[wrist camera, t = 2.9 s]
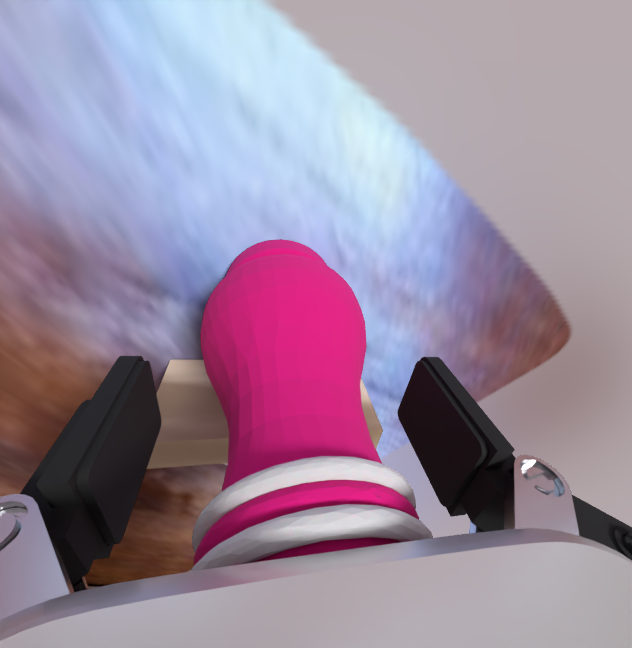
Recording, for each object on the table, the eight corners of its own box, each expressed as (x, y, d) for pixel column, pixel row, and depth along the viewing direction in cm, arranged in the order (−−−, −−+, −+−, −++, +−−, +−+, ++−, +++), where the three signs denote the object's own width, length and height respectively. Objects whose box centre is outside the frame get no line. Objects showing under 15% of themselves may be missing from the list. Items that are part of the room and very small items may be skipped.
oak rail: (348, 380, 22) (374, 453, 17) (174, 383, 19) (144, 468, 14) (353, 359, 21) (383, 430, 16) (170, 359, 18) (136, 442, 13)
